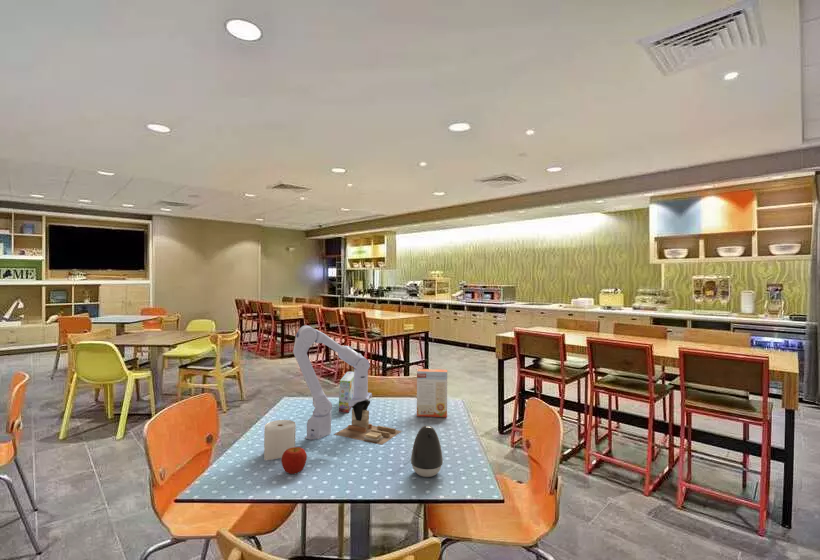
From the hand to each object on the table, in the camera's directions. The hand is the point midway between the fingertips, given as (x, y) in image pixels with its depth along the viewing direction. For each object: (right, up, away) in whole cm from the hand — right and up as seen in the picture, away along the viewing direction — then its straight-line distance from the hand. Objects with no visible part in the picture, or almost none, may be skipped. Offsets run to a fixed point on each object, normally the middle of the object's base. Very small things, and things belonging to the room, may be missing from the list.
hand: (360, 419), depth 170 cm
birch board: (0, -4, 0) cm, 4 cm away
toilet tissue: (-26, -5, -23) cm, 35 cm away
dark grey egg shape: (+26, -5, -37) cm, 45 cm away
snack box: (-10, -5, +35) cm, 36 cm away
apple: (-17, -5, -37) cm, 41 cm away
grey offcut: (+6, -4, -12) cm, 14 cm away
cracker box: (+31, -6, +22) cm, 38 cm away
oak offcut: (+6, -3, -12) cm, 14 cm away
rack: (+4, -5, -5) cm, 8 cm away
